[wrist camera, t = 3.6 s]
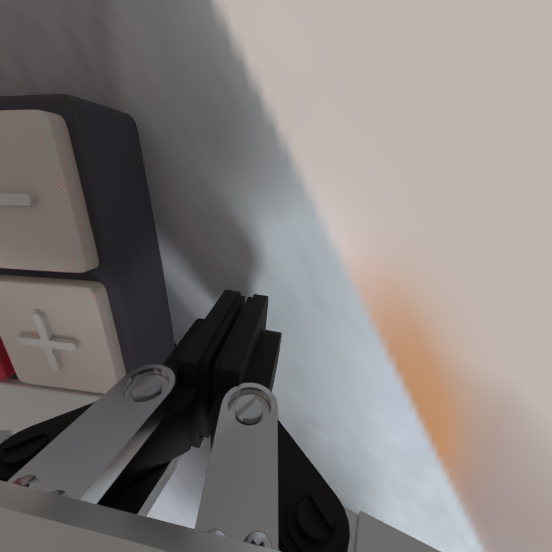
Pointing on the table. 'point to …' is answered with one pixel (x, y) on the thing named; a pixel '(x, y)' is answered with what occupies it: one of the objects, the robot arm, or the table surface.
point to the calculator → (74, 257)
